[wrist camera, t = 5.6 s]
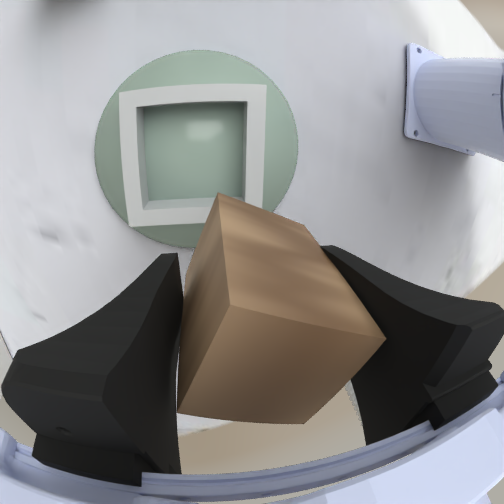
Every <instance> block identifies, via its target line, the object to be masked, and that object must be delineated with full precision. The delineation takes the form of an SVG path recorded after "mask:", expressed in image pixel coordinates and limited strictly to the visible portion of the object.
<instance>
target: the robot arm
mask: <svg viewBox="0 0 504 504" xmlns="http://www.w3.org/2000/svg"><path fill="white" fill-rule="evenodd" d="M417 50H418V52H417ZM414 131H415V132H416V134H415V135H414ZM404 133H405V136H406V137H408V138H412V139H416V140H420V141H424V142H428V143H432V144H435V145H439V146H443V147H446V148H450V149H453V150H456V151H459V152H463V153H466V154H469V155H472V156H474V155H475V153H476V152H478V153H481V154H484V155H486V156H489V157H492V158H495V159H497V160H500V161H502V162H504V59H499V58H444V57H442V56H440V55H438V54H436V53H434V52H432V51H430V50H428V49H426V48H423V47H421V46H419V45H417V44H415V43H409V44H408V45H407V97H406V114H405V127H404ZM320 247H321V249H322V250H323V251H324V253H325V254H326V255H327V257H328V258H329V259H330V260H331V262H332V263H333V264H334V265H335V266H336V268H337V269H338V270H339V272H340V273H341V275H342V276H343V277H344V279H345V280H346V281H347V283H348V284H349V286H350V287H351V288H352V290H353V291H354V292H355V294H356V295H357V297H358V298H359V300H360V301H361V302H362V304H363V305H364V307H365V308H366V309H367V311H368V312H369V314H370V315H371V317H372V318H373V320H374V321H375V323H376V324H377V325H378V327H379V328H380V330H381V331H382V333H383V334H384V336H385V337H386V340H385V341H384V342H383V343H382V345H381V346H380V347H379V348H378V349H377V351H376V352H375V353H374V354H373V355H372V356H371V358H370V359H369V360H368V361H367V362H366V363H365V364H364V365H363V366H362V368H361V369H360V370H359V371H358V372H357V373H356V374H355V375H354V376H353V377H352V378H351V383H352V386H353V389H354V393H355V396H356V400H357V403H358V407H359V412H360V416H361V420H362V425H363V430H364V435H365V441H366V446H365V447H361V448H358V449H355V450H352V451H349V452H345V453H342V454H338V455H335V456H331V457H327V458H323V459H319V460H315V461H311V462H306V463H301V464H296V465H291V466H285V467H280V468H273V469H266V470H259V471H250V472H240V473H227V474H202V475H183V474H182V473H181V466H180V457H179V447H178V434H177V416H176V370H177V361H178V354H179V346H180V334H181V321H182V313H183V302H184V297H183V290H182V283H181V276H180V268H179V260H178V253H168V254H161V255H160V256H159V257H158V258H157V259H156V260H155V261H154V262H153V263H152V264H151V265H150V266H149V267H148V268H147V269H146V270H145V271H144V272H143V273H142V274H141V275H140V276H139V277H138V278H137V279H136V280H135V281H134V282H132V283H131V284H130V285H129V286H128V287H127V288H126V289H125V290H124V291H123V292H121V293H120V294H119V295H118V296H117V297H116V298H114V299H113V300H112V301H111V302H109V303H108V304H106V305H105V306H104V307H102V308H101V309H100V310H98V311H97V312H95V313H94V314H92V315H90V316H89V317H87V318H86V319H84V320H82V321H81V322H79V323H78V324H76V325H74V326H72V327H70V328H69V329H67V330H65V331H63V332H61V333H59V334H57V335H55V336H53V337H50V338H48V339H46V340H43V341H41V342H38V343H36V344H33V345H31V346H28V347H25V348H23V349H20V350H18V351H17V353H16V355H15V357H14V359H13V361H12V363H11V365H10V367H9V369H8V371H7V373H6V376H5V378H4V380H3V382H2V384H1V391H2V394H3V396H4V398H5V400H6V402H7V403H8V405H9V406H10V407H11V408H12V410H13V411H14V412H15V413H16V414H17V415H18V416H19V417H20V418H21V419H22V420H23V421H24V422H25V423H26V424H27V425H28V426H29V427H30V428H31V429H32V430H34V432H36V433H37V435H36V439H35V443H34V447H33V448H32V447H29V446H26V445H24V444H21V443H18V442H17V441H16V440H15V439H14V438H13V437H12V436H11V435H10V434H9V433H7V432H6V431H5V430H3V429H2V428H0V504H198V503H193V502H215V501H234V500H245V499H255V498H263V497H270V496H277V495H283V494H288V493H293V492H298V491H303V490H308V489H312V488H316V487H320V486H324V485H328V484H331V483H335V482H338V481H342V480H345V479H348V478H351V477H354V476H357V475H360V474H363V473H366V472H368V471H371V470H374V469H376V468H379V467H381V466H384V465H386V464H389V463H391V462H393V461H396V460H398V459H400V458H402V457H404V456H407V455H409V454H411V453H412V454H411V455H409V456H407V457H405V458H403V459H400V460H398V461H396V462H394V463H392V464H389V465H387V466H384V467H382V468H380V469H377V470H374V471H371V472H369V473H366V474H363V475H361V476H358V477H355V478H353V479H350V480H347V481H344V482H342V483H339V484H336V485H333V486H329V487H326V488H323V489H321V490H318V491H316V492H312V493H309V494H306V495H303V496H299V497H294V498H290V499H286V500H281V501H276V502H270V503H265V504H491V501H490V499H489V497H488V495H487V492H488V491H489V490H490V489H491V488H492V487H494V486H495V485H496V484H497V483H498V482H499V481H500V480H501V479H502V478H503V477H504V371H503V372H502V374H501V376H500V377H499V378H497V379H496V380H495V379H494V378H493V376H492V375H491V374H490V372H489V370H490V369H491V368H492V364H491V363H490V361H489V360H488V358H489V357H490V356H491V354H492V352H493V351H494V349H495V348H496V346H497V345H498V343H499V342H500V340H501V338H502V336H503V335H504V310H503V309H502V308H501V307H500V306H499V305H498V304H496V303H493V302H485V301H477V300H469V299H464V298H460V297H455V296H451V295H447V294H443V293H440V292H436V291H433V290H430V289H427V288H424V287H421V286H418V285H415V284H413V283H410V282H408V281H405V280H403V279H401V278H398V277H396V276H394V275H392V274H390V273H388V272H386V271H384V270H382V269H380V268H378V267H376V266H374V265H372V264H370V263H368V262H366V261H364V260H362V259H361V258H359V257H357V256H355V255H353V254H351V253H349V252H347V251H345V250H343V249H341V248H339V247H336V246H333V245H330V246H320Z"/></svg>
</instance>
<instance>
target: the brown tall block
mask: <svg viewBox="0 0 504 504" xmlns="http://www.w3.org/2000/svg"><path fill="white" fill-rule="evenodd" d="M385 340H386V337H385V336H384V334H383V333H382V331H381V330H380V328H379V327H378V325H377V324H376V323H375V321H374V320H373V318H372V317H371V315H370V314H369V312H368V311H367V309H366V308H365V307H364V305H363V304H362V302H361V301H360V300H359V298H358V297H357V295H356V294H355V292H354V291H353V290H352V288H351V287H350V286H349V284H348V283H347V281H346V280H345V279H344V277H343V276H342V275H341V273H340V272H339V270H338V269H337V268H336V266H335V265H334V264H333V263H332V262H331V260H330V259H329V258H328V257H327V255H326V254H325V253H324V251H323V250H322V249H321V247H320V245H319V244H318V243H317V241H316V240H315V239H314V237H313V236H312V235H311V234H310V232H309V231H308V230H307V228H306V227H305V226H304V225H302V224H300V223H297V222H295V221H292V220H290V219H287V218H285V217H282V216H280V215H277V214H274V213H272V212H269V211H267V210H264V209H262V208H259V207H256V206H254V205H251V204H248V203H246V202H243V201H240V200H238V199H235V198H232V197H230V196H227V195H224V194H221V193H219V192H218V193H217V195H216V198H215V200H214V203H213V205H212V207H211V210H210V212H209V215H208V217H207V220H206V222H205V225H204V228H203V230H202V233H201V235H200V238H199V240H198V243H197V246H196V248H195V251H194V254H193V256H192V259H191V262H190V264H189V267H188V270H187V273H186V279H185V289H184V302H183V313H182V321H181V334H180V348H179V365H178V386H177V413H180V414H186V415H192V416H198V417H205V418H212V419H221V420H230V421H241V422H254V423H272V424H304V423H305V422H307V421H308V420H309V419H310V418H311V417H312V416H313V415H314V414H315V413H317V412H318V411H319V410H320V409H321V408H322V407H323V406H324V405H325V404H326V403H327V402H328V401H329V400H330V399H331V398H333V397H334V396H335V395H336V394H337V393H338V392H339V391H340V390H341V388H343V387H344V386H345V385H346V384H347V383H348V381H349V380H350V379H351V378H352V377H353V376H354V375H355V374H356V373H357V372H358V371H359V370H360V369H361V368H362V366H363V365H364V364H365V363H366V362H367V361H368V360H369V359H370V358H371V356H372V355H373V354H374V353H375V352H376V351H377V349H378V348H379V347H380V346H381V345H382V343H383V342H384V341H385Z"/></svg>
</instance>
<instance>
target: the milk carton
mask: <svg viewBox="0 0 504 504" xmlns="http://www.w3.org/2000/svg"><path fill="white" fill-rule="evenodd" d="M12 361H13V360H12V358H11V355H10V353H9V351H8V349H7V347H6V345H5V342H4V340H3V338H2V336H1V333H0V399H1V397H2V391H1V384H2V382H3V380H4V378H5V376H6V373H7V371H8V369H9V367H10V365H11V363H12Z"/></svg>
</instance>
